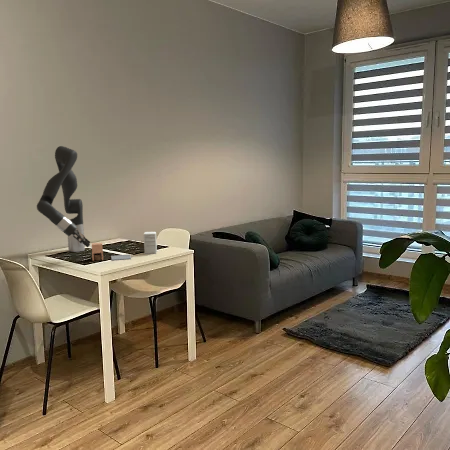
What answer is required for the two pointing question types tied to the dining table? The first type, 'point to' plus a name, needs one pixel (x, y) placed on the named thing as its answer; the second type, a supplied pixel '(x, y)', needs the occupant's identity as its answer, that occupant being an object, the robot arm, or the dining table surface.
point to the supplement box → (150, 243)
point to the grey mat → (120, 257)
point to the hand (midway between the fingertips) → (89, 244)
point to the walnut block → (97, 257)
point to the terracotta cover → (97, 250)
